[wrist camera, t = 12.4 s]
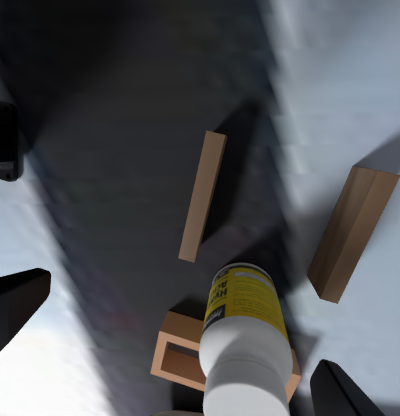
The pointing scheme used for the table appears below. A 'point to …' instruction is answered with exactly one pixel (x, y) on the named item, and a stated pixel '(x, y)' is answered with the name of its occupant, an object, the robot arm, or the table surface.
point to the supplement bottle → (244, 346)
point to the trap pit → (191, 354)
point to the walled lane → (335, 232)
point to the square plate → (177, 413)
